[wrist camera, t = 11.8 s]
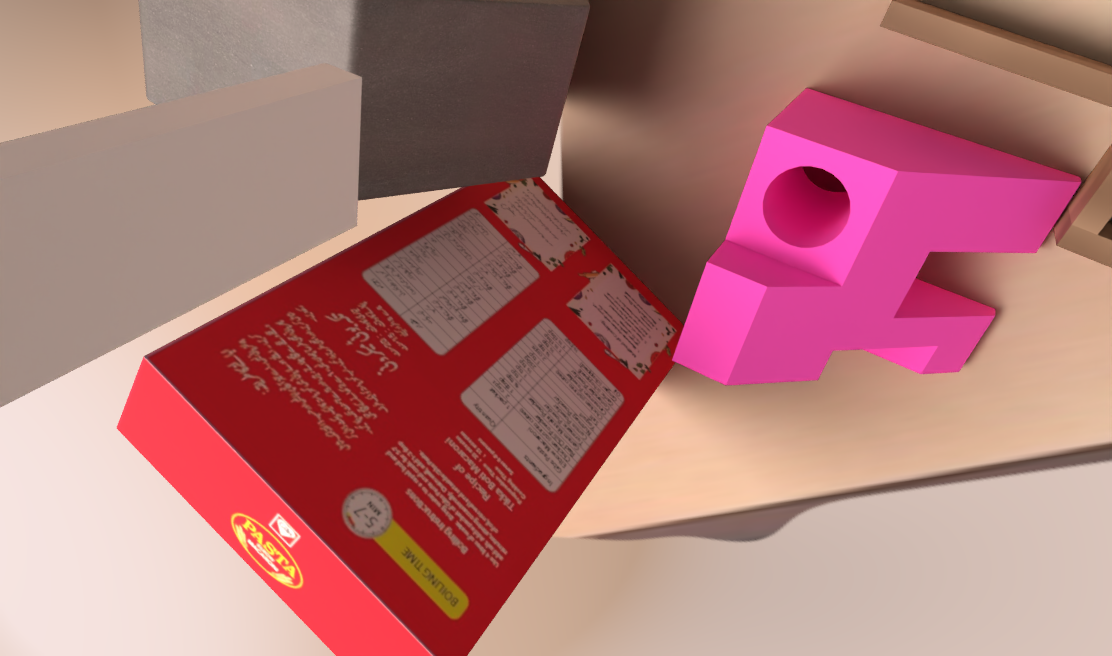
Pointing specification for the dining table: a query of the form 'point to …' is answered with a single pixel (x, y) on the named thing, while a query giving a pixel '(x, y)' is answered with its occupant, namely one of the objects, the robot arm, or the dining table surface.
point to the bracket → (859, 245)
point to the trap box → (1108, 184)
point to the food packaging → (409, 414)
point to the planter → (392, 75)
